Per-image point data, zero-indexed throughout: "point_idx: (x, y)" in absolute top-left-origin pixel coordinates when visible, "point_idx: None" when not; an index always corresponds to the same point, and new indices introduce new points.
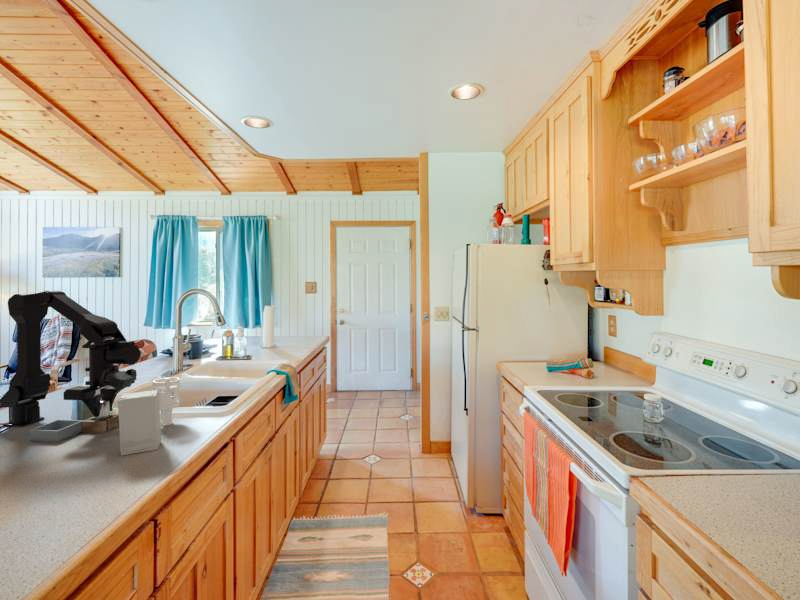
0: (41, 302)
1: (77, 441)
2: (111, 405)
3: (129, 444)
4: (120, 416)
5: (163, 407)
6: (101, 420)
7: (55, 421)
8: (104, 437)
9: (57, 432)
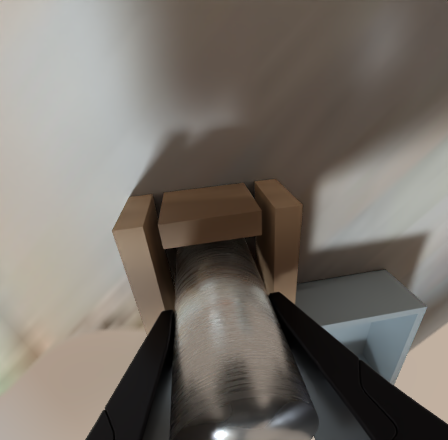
0: None
1: (391, 197)
2: (148, 354)
3: None
4: None
5: None
6: (251, 259)
7: None
8: (351, 96)
9: (419, 300)
